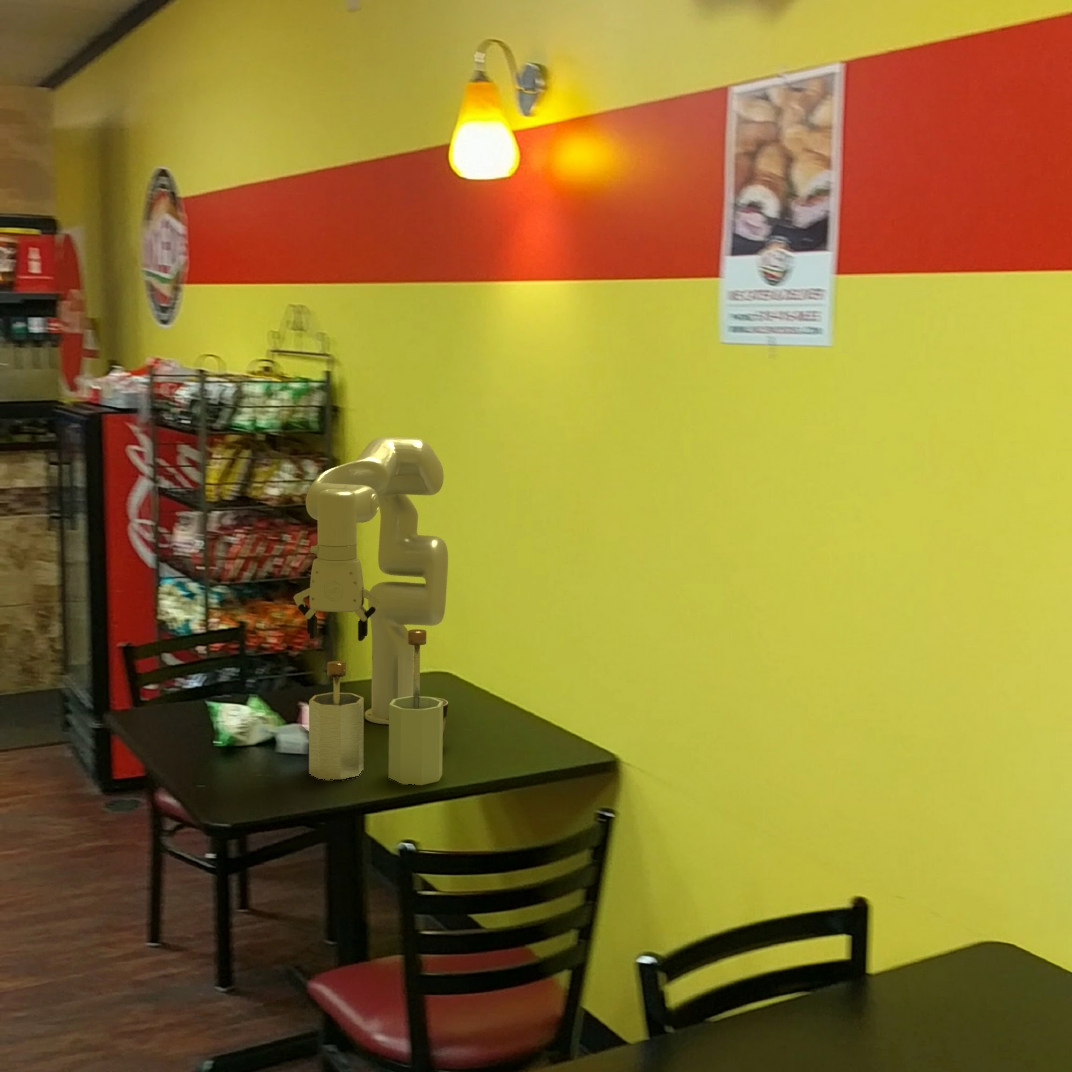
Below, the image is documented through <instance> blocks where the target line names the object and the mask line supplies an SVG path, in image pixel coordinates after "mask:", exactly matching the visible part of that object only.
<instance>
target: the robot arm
mask: <svg viewBox="0 0 1072 1072" xmlns="http://www.w3.org/2000/svg"><path fill="white" fill-rule="evenodd" d="M444 478H445V475H444V470H443V466H442V463H441V460H440V458H438V456H437V454H436V452H435V451H434V449H433V447H431V445H430V444H429V443H428V442H427V441H425V440H424V439H421V438H419V437H401V436H400V437H397V436H381V437H377V438H375V439H373V440H371V441H370V442H369V443H368V444H367V445H366V447H365V448H364V449H363V450H362V452H361V453H360V455H359V456H358V457H357V458H356V459H355V460H352V461H348V462H347V463H346V462H345V463H343V464H341V465H338V466H335V467H332V468H329V469H327V470H325V471H323V472H321V473H320V474H319V475H318V476H317V478H316V479H314V481H313V482H312V483H311V485H310V487H309V489H308V491H307V493H306V498H305V507H306V511H307V514H308V515H309V516H310V517H311V518H312V519H314V520H316V521H317V544H316V545H312V546H310V550H309V551H310V554H315V555H316V558H315V559H313V561H312V566H311V573H310V574H311V575H310V584H309V588H306V589H304V590H302V591H301V592H299V593H296V594H295V595H294V596H293V600H294V602H295V604H296V606H297V608H298V610H299V611H300V612H301V613H302V615H303V616H304V618H305V619H307V620H306V621H307V622H306V624H307V634H309V639H310V640H313V639H315V638H316V637H317V636H318V617H317V615H316V613H317V612H329V613H331V612H332V613H333V612H334V613H355V614H356V616H357V617H358V618H359V621H358V622H357V640H358V641H359V642H363V640H364V639H366V637H367V636H368V633H369V630H368V629H369V628H368V626H369V625H368V619H370V627H371V708H369V709H367V710H366V711H364V720H366V721H368V722H370V723H374V724H379V725H380V724H381V725H389V704H390V703H391V702H392V700H393V699H397V698H403V697H408V696H413V689H414V645H410V644H408V631H409V630H408V629H407V628H406V626H407V625H413V626H428V627H429V626H430V627H432V626H433V627H434V626H438V625H439V624H440V623H442V621H443V620H444V617H445V612H446V603H447V600H446V599H447V589H448V588H447V587H448V585H447V584H448V572H449V571H448V570H449V552H448V551H449V550H448V546H447V544H446V541H445V540H444V539H442V538H441V537H438V536H435V535H422V534H421V535H419V534H418V525H419V524H418V523H419V521H418V520H419V513H418V510H417V508H416V506H415V505H414V503H413V501H412V500H411V499H410V498H409V497H408V495H410V496H411V495H412V496H434V495H437V493H439V492H440V491H441V489H442V487H443V485H444ZM378 511H379V513H380V524H379V525H380V526H379V535H378V536H379V537H378V538H379V539H378V550H377V551H378V554H377V559H378V560H377V563H378V568H379V571H381V573H383V574H385V575H387V576H388V575H389V576H395V577H414V578H423V579H424V581H425V583H421V582H410V581H409V582H407V581H381V582H379V583H376V584H374V585H373V586H372V587H371V589H370V590H367V589H365V586H364V577H363V576H364V575H363V570H362V564H361V560H360V559H359V558H357V553H358V551H357V549H358V548H357V546H358V544H357V541H358V539H357V535H358V534H357V526H358V525H357V524H358V523H367V522H369V521H371V520H373V518H375V516H376V515H377V513H378ZM308 596H309V606H308V605H307V603H305V601H304V598H307V597H308ZM365 599H366V600H367V604H368V605H367V606H368V609H366V608H365V607H364V603H365Z"/></svg>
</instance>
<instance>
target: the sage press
mask: <svg viewBox="0 0 1072 1072" xmlns="http://www.w3.org/2000/svg"><path fill="white" fill-rule="evenodd" d="M435 698H436V697H434V698H432V696H420V699H419V708H426V709H406V708H413V696H408V697H403V698H397V699H393V700H392V702H391V703H390V704H389V724H388V779H389V778H391V779H393V780H395V781H397V782H399V783H402V784H401V785H408V784H412V785H413V786H424V785H428V784H433V783H437V782H439V781H440V780H441V778H442V776H443V751H444V750H443V747H444V746H443V744H444V738H443V701H441V700H438V699H435ZM391 779H390V780H391ZM393 780H392V781H393ZM395 781H394V782H395ZM397 782H396V783H397ZM399 783H398V784H399ZM414 784H415V785H414Z"/></svg>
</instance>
